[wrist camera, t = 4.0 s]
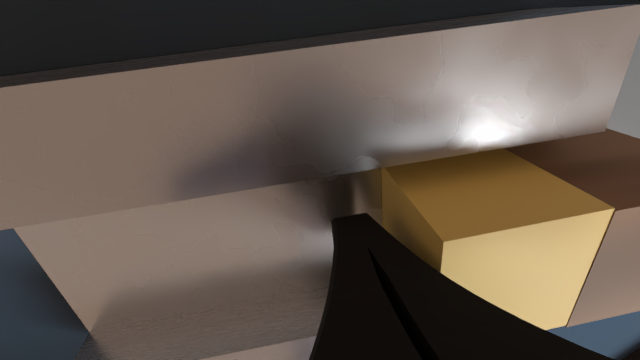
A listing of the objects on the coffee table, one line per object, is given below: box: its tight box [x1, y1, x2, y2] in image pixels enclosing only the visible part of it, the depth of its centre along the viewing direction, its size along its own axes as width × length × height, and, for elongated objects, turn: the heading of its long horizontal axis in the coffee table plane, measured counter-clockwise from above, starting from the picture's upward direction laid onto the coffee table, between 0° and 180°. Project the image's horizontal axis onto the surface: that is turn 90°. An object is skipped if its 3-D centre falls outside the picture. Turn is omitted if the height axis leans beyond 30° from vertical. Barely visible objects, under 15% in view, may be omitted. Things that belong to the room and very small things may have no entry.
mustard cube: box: [381, 148, 615, 330], centre depth 9 cm, size 4×4×4 cm
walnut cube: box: [504, 128, 640, 327], centre depth 10 cm, size 4×4×4 cm
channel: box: [0, 4, 640, 360], centre depth 11 cm, size 12×17×4 cm
